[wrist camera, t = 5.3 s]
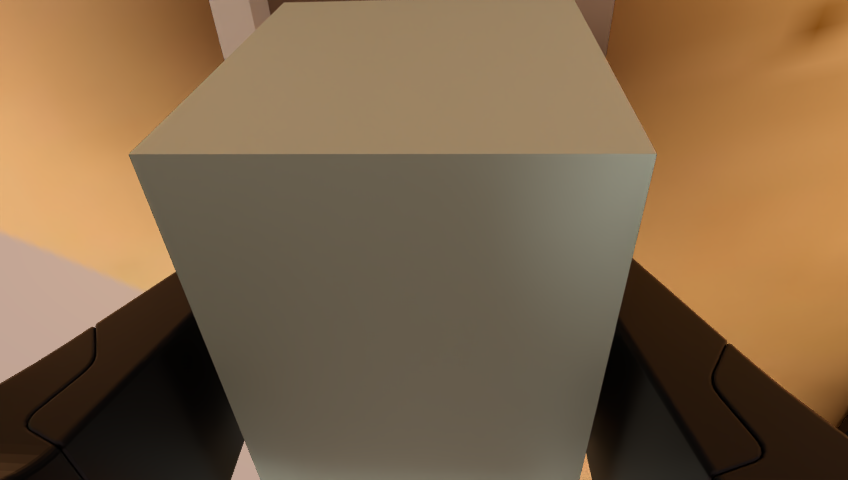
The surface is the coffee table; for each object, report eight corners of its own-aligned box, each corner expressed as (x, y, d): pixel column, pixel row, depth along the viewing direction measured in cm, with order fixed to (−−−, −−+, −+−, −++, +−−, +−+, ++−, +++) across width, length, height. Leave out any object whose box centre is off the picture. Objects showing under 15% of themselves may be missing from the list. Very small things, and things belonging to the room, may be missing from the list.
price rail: (333, 282, 22) (320, 327, 20) (305, 281, 22) (289, 326, 20) (212, -375, 11) (158, -414, 9) (159, -370, 12) (94, -408, 10)
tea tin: (571, -5, 8) (656, 153, 5) (535, 321, 13) (562, 550, 9) (274, 2, 9) (111, 154, 5) (335, 316, 13) (273, 533, 9)
